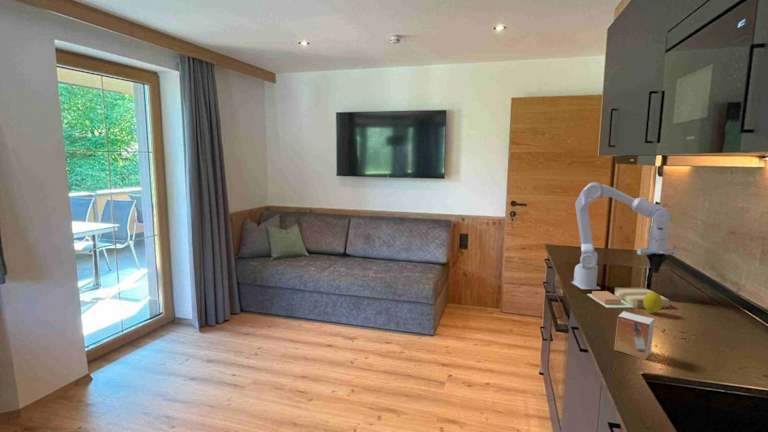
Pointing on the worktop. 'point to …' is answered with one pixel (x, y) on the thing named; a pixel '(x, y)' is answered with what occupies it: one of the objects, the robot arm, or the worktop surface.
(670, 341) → the worktop surface
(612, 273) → the worktop surface
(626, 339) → the small box
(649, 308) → the lemon
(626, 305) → the mat
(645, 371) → the worktop surface
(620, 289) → the tan tray
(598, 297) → the tile
